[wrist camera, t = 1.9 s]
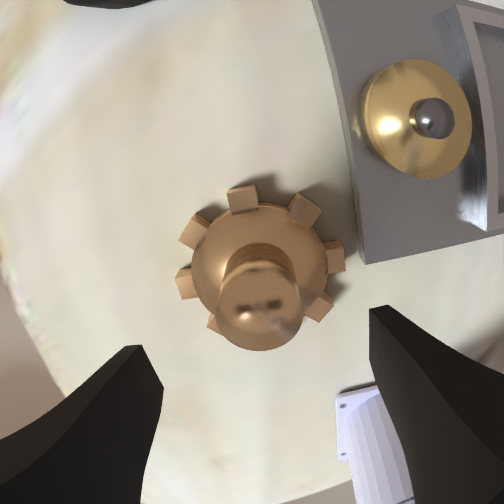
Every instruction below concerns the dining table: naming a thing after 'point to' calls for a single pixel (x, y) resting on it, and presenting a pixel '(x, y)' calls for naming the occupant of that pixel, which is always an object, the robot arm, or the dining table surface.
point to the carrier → (419, 119)
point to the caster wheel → (107, 3)
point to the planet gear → (259, 269)
